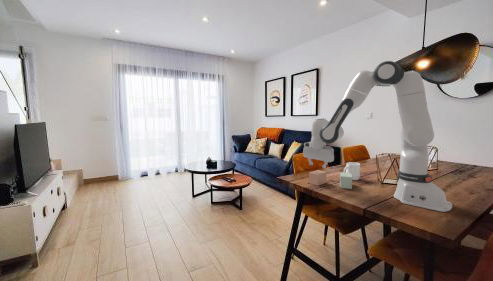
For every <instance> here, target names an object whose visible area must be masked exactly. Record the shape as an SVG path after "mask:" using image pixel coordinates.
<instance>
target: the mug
mask: <svg viewBox="0 0 493 281" xmlns="http://www.w3.org/2000/svg"><path fill="white" fill-rule="evenodd" d="M360 172H361V163H359V162H355V161H354V162H353V161H352V162H351V161H349V162H346V165H345V167H344V168H343V173H351V175H352V181H358V180H359V179H360V174H361V173H360Z"/></svg>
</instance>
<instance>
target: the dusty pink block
mask: <svg viewBox="0 0 493 281" xmlns="http://www.w3.org/2000/svg"><path fill="white" fill-rule="evenodd" d="M308 174H309V176H308V183H309V184H310V185H313V186H317V187H319V186H321V185H323V184H327V172H326V171H323V170H320V169H317V170H314V171H309V173H308Z"/></svg>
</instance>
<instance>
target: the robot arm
mask: <svg viewBox="0 0 493 281" xmlns="http://www.w3.org/2000/svg"><path fill="white" fill-rule="evenodd" d="M375 86H377V87H390V86H392V87H393V88H394V89H395V92H396V93H395V95H396V100H397V108H398V113H399V118H400V121H401V127H402V128H401V130H400V158H399V169H398V173H397V185H396V190H395V192H394V194H393V197H394V198H395V199H397V200H398V201H400V203H402V204H405V205H409V206H414V207H418V208H423V209H428V210H433V211H437V212H441V213H442V212H443V213H445V212H449V211H451V210H452V209H453V203H451V202H450V201H447V196H446V192H445V191H444V190H443V189H442V188H440V187H438V186H437V185H436V184H435V183H433V175H430V174H429V173H428V167H429V158H430V157H429V150H428V149H429V148H428V145H429V144H431V143H432V142H433V141H434V138H435V132H434V127H433V123H432V119H431V116H430V113H429V109H428V102H427V97H426V90H425V85H424V80H423V78H422V76H421V73H420V72H418V71H415V70H408V71H405V70H404V69H403V68H402V67H401V66H400V65H399V64H398V62H397V63H396V62H394V61H392V60H387V61H383V62H380V63H379V64H378V65H377V66H376V67H375V68H374V71H370V70H360V71H358V73H356V75H355V76H354V77H353V79H352V80H351V82H350V83H349V85H348V87H347V88H346V90H345V93H344V94H343V96H342V99H341V101H340V103H339V105H338V107H337V108H336V110H335V112H333V115H332V117H331V118H330V120H328V119H326V118H318V119H315V120H312V121H313V122H312V124H311V131H310V132H311V138H310V141H308V142H304V143H303V146H304V147H303V149H302V150H303V151H302V156H303V157H304V158H307V161H308V164H309V166H313V165H314V162H313V161H312V160H317V161H321V162H322V161H323V163H324V164H322V166H321V168H322V169H326V168H327V165H328V164H329V163H332V162H334V160H335V154H334V153H335V149H334V148H333V147H332V146H329V145H327V144H333V143H335V142H336V141H338V140H340V139H342V138H343V136H344V133H345V131H344V129H343V127H342V126H343V123H344V122H345V120H346V118H348V115H349V114H350V113H352V111H354V110H355V109H357V108H358V107H360V106H361V105H362V104H363V103H364V102H365V101H366V99H367V98H368V96H369V94H370V92H371V91H372V90H373V88H374V87H375Z"/></svg>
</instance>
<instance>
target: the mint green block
mask: <svg viewBox="0 0 493 281" xmlns="http://www.w3.org/2000/svg"><path fill="white" fill-rule="evenodd" d="M339 188H340V189H348V190H349V189H350V190H352V188H353V180H352V175H351V173H343V172H339Z"/></svg>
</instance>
